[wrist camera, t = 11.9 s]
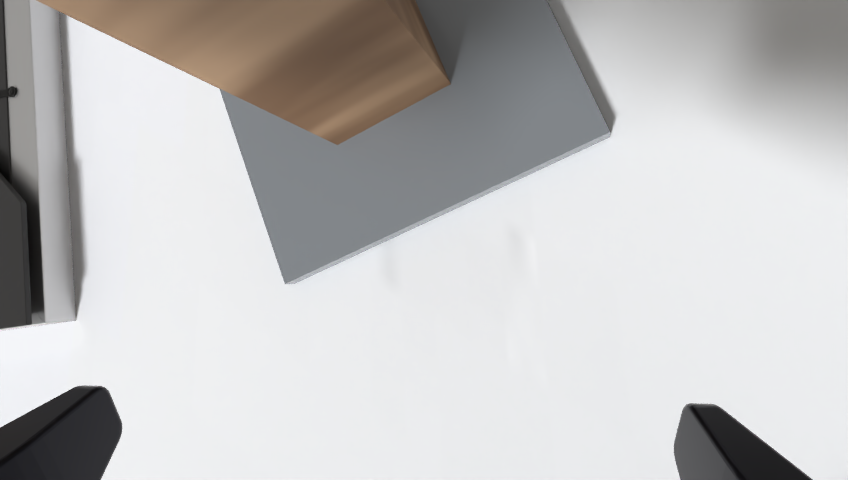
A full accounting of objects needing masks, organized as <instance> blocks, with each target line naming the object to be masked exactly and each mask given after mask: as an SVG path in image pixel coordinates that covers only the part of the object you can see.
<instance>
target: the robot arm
mask: <svg viewBox="0 0 848 480" xmlns="http://www.w3.org/2000/svg"><path fill="white" fill-rule="evenodd" d="M121 433H122V422H121V419H120V417H119V414H118V412H117V409H116V407H115V405H114V402H113V400H112V397H111V395H110V393H109V391H108V390H107V389H106V388H105V387H102V386H77V387H75V388H72V389H71V390H69V391H67V392H65V393H63V394H61V395H60V396H58V397H56V398H54V399H52V400H50V401H49V402H47V403H45V404H43V405H41V406H39V407H37V408H36V409H34V410H32V411H30V412H28V413H26V414H25V415H23V416H21V417H19V418H17V419H15V420H14V421H12V422H10V423H8V424H6V425H4V426H3V427H1V428H0V480H101V478H102V476H103V474H104V472H105V469H106V467H107V465H108V463H109V461H110V459H111V457H112V454H113V452H114V450H115V448H116V446H117V444H118V442H119V439H120V437H121ZM674 455H675V461H676V465H677V468H678V472H679V476H680V480H813V479H811V478H810V477H809V476H807V475H806V474H805V473H804V472H802V471H801V470H800V469H798V468H797V467H796V466H795V465H793V464H792V463H791V462H790V461H788V460H787V459H786V458H784V457H783V456H782V455H781V454H779V453H778V452H777V451H775V450H774V449H773V448H772V447H770V446H769V445H768V444H767V443H765V442H764V441H763V440H761V439H760V438H759V437H758V436H756V435H755V434H754V433H752V432H751V431H750V430H749V429H747V428H746V427H745V426H743V425H742V424H741V423H740V422H738V421H737V420H736V419H735V418H733V417H732V416H731V415H729V414H728V413H727V412H726V411H724V410H723V409H722V408H720V407H719V406H717V405H714V404H694V403H690V404H687V405H686V406H685V407H684V408H683V411H682V414H681V418H680V422H679V426H678V430H677V434H676V438H675V442H674Z"/></svg>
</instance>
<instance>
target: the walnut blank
mask: <svg viewBox="0 0 848 480" xmlns="http://www.w3.org/2000/svg"><path fill="white" fill-rule="evenodd" d="M36 1H38V2H41V3H43V4H45V5H47V6H49V7H51V8H53V9H55V10H57V11H59V12H61V13H63V14H65V15H68V16H70V17H72V18H74V19H76V20H78V21H80V22H82V23H84V24H86V25H88V26H90V27H93V28H95V29H97V30H99V31H101V32H103V33H105V34H107V35H109V36H111V37H113V38H115V39H117V40H120V41H122V42H124V43H126V44H128V45H130V46H132V47H134V48H136V49H138V50H140V51H142V52H145V53H147V54H149V55H151V56H153V57H155V58H157V59H159V60H161V61H163V62H165V63H167V64H170V65H172V66H174V67H176V68H178V69H180V70H182V71H184V72H186V73H188V74H190V75H192V76H194V77H197V78H199V79H201V80H203V81H205V82H207V83H209V84H211V85H213V86H215V87H217V88H219V89H222V90H224V91H226V92H228V93H230V94H232V95H234V96H236V97H238V98H240V99H242V100H244V101H246V102H249V103H251V104H253V105H255V106H257V107H259V108H261V109H263V110H265V111H267V112H269V113H271V114H274V115H276V116H278V117H280V118H282V119H284V120H286V121H288V122H290V123H292V124H294V125H296V126H298V127H301V128H303V129H305V130H307V131H309V132H311V133H313V134H315V135H317V136H319V137H321V138H323V139H326V140H328V141H330V142H332V143H334V144H336V145H338V144H340V143H342V142H344V141H346V140H348V139H350V138H352V137H353V136H355V135H357V134H359V133H361V132H363V131H365V130H366V129H368V128H370V127H372V126H374V125H376V124H378V123H379V122H381V121H383V120H385V119H387V118H389V117H391V116H392V115H394V114H396V113H398V112H400V111H402V110H404V109H405V108H407V107H409V106H411V105H413V104H415V103H417V102H418V101H420V100H422V99H424V98H426V97H428V96H430V95H431V94H433V93H435V92H437V91H439V90H441V89H443V88H444V87H446V86H448V85H450V84H451V83H450V81H449V78H448V76H447V74H446V71H445V69H444V66H443V64H442V62H441V59H440V57H439V55H438V52H437V50H436V48H435V45H434V43H433V41H432V38H431V36H430V34H429V31H428V29H427V27H426V24H425V22H424V19H423V17H422V15H421V12H420V10H419V8H418V5H417V3H416V1H415V0H36Z"/></svg>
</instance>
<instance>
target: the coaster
mask: <svg viewBox="0 0 848 480" xmlns="http://www.w3.org/2000/svg"><path fill="white" fill-rule="evenodd" d="M415 1H416V3H417V5H418V8H419V10H420V12H421V15H422V17H423V19H424V22H425V24H426V27H427V29H428V31H429V34H430V36H431V38H432V41H433V43H434V45H435V48H436V50H437V52H438V55H439V57H440V59H441V62H442V64H443V66H444V69H445V71H446V74H447V76H448V78H449V81H450V83H451V84H450V85H448V86H446V87H444V88H443V89H441V90H439V91H437V92H435V93H433V94H431V95H430V96H428V97H426V98H424V99H422V100H420V101H418V102H417V103H415V104H413V105H411V106H409V107H407V108H405V109H404V110H402V111H400V112H398V113H396V114H394V115H392V116H391V117H389V118H387V119H385V120H383V121H381V122H379V123H378V124H376V125H374V126H372V127H370V128H368V129H366V130H365V131H363V132H361V133H359V134H357V135H355V136H353V137H352V138H350V139H348V140H346V141H344V142H342V143H340V144H338V145H336V144H334V143H332V142H330V141H328V140H326V139H323V138H321V137H319V136H317V135H315V134H313V133H311V132H309V131H307V130H305V129H303V128H301V127H298V126H296V125H294V124H292V123H290V122H288V121H286V120H284V119H282V118H280V117H278V116H276V115H274V114H271V113H269V112H267V111H265V110H263V109H261V108H259V107H257V106H255V105H253V104H251V103H249V102H246V101H244V100H242V99H240V98H238V97H236V96H234V95H232V94H230V93H228V92H226V91H224V90H222V89H220V91H221V94H222V97H223V100H224V103H225V106H226V109H227V112H228V115H229V118H230V121H231V124H232V127H233V130H234V133H235V136H236V139H237V142H238V145H239V148H240V151H241V154H242V157H243V160H244V163H245V166H246V169H247V172H248V175H249V178H250V181H251V184H252V187H253V190H254V193H255V196H256V199H257V202H258V205H259V208H260V211H261V214H262V217H263V220H264V223H265V226H266V229H267V232H268V235H269V238H270V241H271V244H272V247H273V250H274V253H275V256H276V259H277V262H278V264H279V267H280V270H281V273H282V276H283V279H284V282H285V284H295V283H297V282H299V281H301V280H303V279H305V278H308V277H310V276H312V275H314V274H316V273H318V272H320V271H323V270H325V269H327V268H329V267H331V266H333V265H336V264H338V263H340V262H342V261H344V260H346V259H348V258H351V257H353V256H355V255H357V254H359V253H361V252H363V251H366V250H368V249H370V248H372V247H374V246H376V245H379V244H381V243H383V242H385V241H387V240H389V239H391V238H394V237H396V236H398V235H400V234H402V233H404V232H407V231H409V230H411V229H413V228H415V227H417V226H419V225H422V224H424V223H426V222H428V221H430V220H432V219H434V218H437V217H439V216H441V215H443V214H445V213H447V212H450V211H452V210H454V209H456V208H458V207H460V206H462V205H465V204H467V203H469V202H471V201H473V200H475V199H478V198H480V197H482V196H484V195H486V194H488V193H490V192H493V191H495V190H497V189H499V188H501V187H503V186H505V185H508V184H510V183H512V182H514V181H516V180H518V179H521V178H523V177H525V176H527V175H529V174H531V173H533V172H536V171H538V170H540V169H542V168H544V167H546V166H549V165H551V164H553V163H555V162H557V161H559V160H561V159H564V158H566V157H568V156H570V155H572V154H574V153H576V152H579V151H581V150H583V149H585V148H587V147H589V146H592V145H594V144H596V143H598V142H600V141H602V140H604V139H607V138H609V137H610V130H609V128H608V126H607V124H606V122H605V120H604V118H603V116H602V114H601V112H600V110H599V107H598V105H597V103H596V101H595V99H594V97H593V95H592V93H591V91H590V89H589V87H588V85H587V83H586V81H585V79H584V76H583V74H582V72H581V70H580V68H579V66H578V64H577V62H576V60H575V58H574V56H573V54H572V52H571V50H570V48H569V46H568V43H567V41H566V39H565V37H564V35H563V33H562V31H561V29H560V27H559V25H558V23H557V21H556V19H555V17H554V15H553V12H552V10H551V8H550V6H549V4H548V2H547V0H415Z"/></svg>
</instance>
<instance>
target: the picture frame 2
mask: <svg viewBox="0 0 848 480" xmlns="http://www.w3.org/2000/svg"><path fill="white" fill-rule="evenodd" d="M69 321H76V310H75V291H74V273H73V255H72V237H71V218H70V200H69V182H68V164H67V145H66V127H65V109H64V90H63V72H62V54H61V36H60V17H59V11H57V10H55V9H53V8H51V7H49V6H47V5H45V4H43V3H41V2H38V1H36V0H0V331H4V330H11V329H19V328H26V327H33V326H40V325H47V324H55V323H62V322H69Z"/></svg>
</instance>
